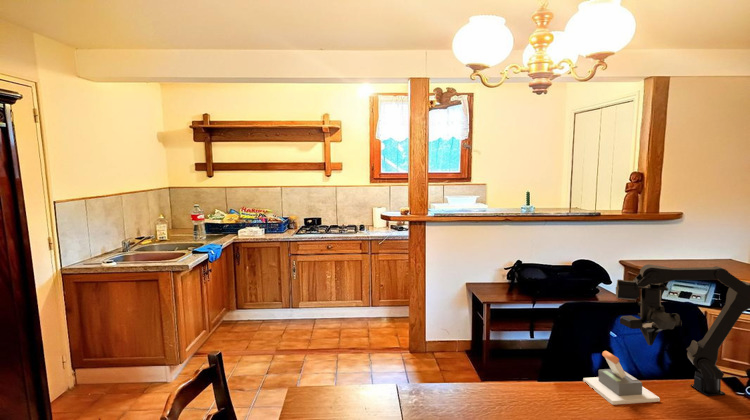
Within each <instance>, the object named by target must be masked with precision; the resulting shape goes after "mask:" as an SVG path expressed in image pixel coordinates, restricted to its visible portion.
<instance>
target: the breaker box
mask: <svg viewBox="0 0 750 420" xmlns="http://www.w3.org/2000/svg"><path fill="white" fill-rule="evenodd" d="M624 372H625V374H626V376H625V377H624V378H620V377H619V376H617V375H616V374H614V373H613V372H612V370H611V368H604V369H598V376H596V377H595V376H594V377H583V379H582V381H583V383H585V382H586V383H587V384H588V385H589V386H588V385H587V384H586V383H585V384H586V385H587V386H588V387H590V388H591V389H592V388H593V389H594V390H593V389H592V390H593V391H595V392H596V393H597V394H598V395H599V396H601V397H602V398H603V399H605V400H606V401H607V402H608V403H609V404H611V405H615V406H616V405H629V404H644V403H656V402H659V403H660V402H661V401H660V400H661V398H660V397H659V396H658V395H656V394H655V393H654V392H652V391H650V390H649V389H647V388H645V387H644V386H643V382H642V381H640V380H639V379H637V378H636V377H634V376H633V375H631V374H630V373H628V372H627V371H625V370H624Z"/></svg>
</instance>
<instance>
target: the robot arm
mask: <svg viewBox="0 0 750 420" xmlns="http://www.w3.org/2000/svg"><path fill="white" fill-rule="evenodd" d="M616 281H617V282H616V286H615V298H616V299H620V300H630V301H636V300H637V299H639V298H640V301H638V302H637V305H638V306H639V307H640V313H639V312H638V313H637V317H639V318H637V317H635V316H633V315H622V316H621V317H620V318H619V324H621V325H623V326H625V327H627V328H629V329H632V330H635V329H637V330H638V329H639V330H640V332H641V334H642V335H643V337H644V339H645V341H646V343H647V345H648V346H653V345H654V343H655V340H656V338H657V336H658V334H659V333H660V332H661V331H663V330H664V331H665V330H674V329H675V328H676V327H682V320H681V316H680V314H678V313H674V312H673V313H669V312H668V313H667V312H666V311H665V307H664V305H662V303H661V302H662V291H665V292H667V291H669V288H668V287H667V286H666V285H665V284H664V283H669V282H672V281H719V282H720V283H721V284H723V285H724V286H725V287H727V288H728V289H727V292H726V296H725V298H726V299H725V304H724V306H723V307H722V309H721V310H720V312H719V313H718V315H717V316H716V318H715V320H714V321H713V322H712V323H711V326H710V327H709V329H708V330H707V332H706V333H705V335H704V337H703V338H702V339H700V340H699V341H696V340H694V339H693V340H691V343H690V345H689V346H688V347H687V348H686V351H687V352H686V356H687V359H688V360H689V361H690V362H691V363H692V365H693V366H694V367H695V368H696V370H695V371H694V376H693V384H690V387H691V386H692V385H693V387H694V388H693V387H692V388H693V389H695V388H696V389H697V391H698V390H699V392H700V393H702V394H703V395H705V396H708V397H710V396H722V395H726V392H725V391H722V390H721V388H722V387H721V385H722V382H721V381H722V380H723V377H724V376H725V374H724V372H723V371H722V370H721V369H720V368H719V366H717V362H718V356H719V349H720V347H721V346H722V344H723V343H724V342H725V340H726V338H727V337H728V335H729V334H730V332H731V331H732V329H733V328H734V326H735V324H736V323H737V322H738V320H740V319H739V318H740V317H741V316H742V314H743V313H744V312H746V311H747V310H749V309H750V283H749V282H747V281H744V280H740V279H739V278H738V277H737V276H734V275H733V274H732V273H730V272H729V271H728V270H727V269H726V268H723V267H722V266H718V265H717V266H705V267H704V266H703V267H695V266H694V267H669V266H668V267H667V266H663V265H657V264H656V265H655V264H645V265H644V264H643V266H641V268H640V269H639V273H638V274H637V275H636V276H635V278H633V280H624V279H617V280H616ZM696 389H695V390H696Z"/></svg>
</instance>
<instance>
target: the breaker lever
mask: <svg viewBox="0 0 750 420" xmlns="http://www.w3.org/2000/svg"><path fill="white" fill-rule="evenodd" d="M601 355H602V356H603V357H604V359H605V360H606V363H607V364H608V366H609V369H611V370H612V372H613V373H614V374H616V375H617V376H619V377H620V378H624V377H625V376H626V374H625V372H626V371H625V370H624V369H623V367H622V365H621V363H620V358H619V357H617V356H616V355H614V354H613V353H611V352H609V351H607V350H604V351H602V353H601ZM624 371H625V372H624Z"/></svg>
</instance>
